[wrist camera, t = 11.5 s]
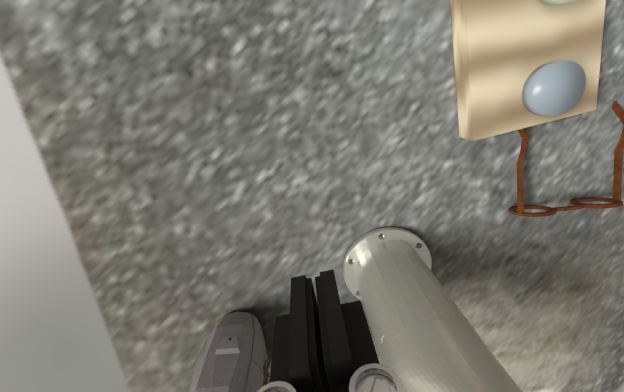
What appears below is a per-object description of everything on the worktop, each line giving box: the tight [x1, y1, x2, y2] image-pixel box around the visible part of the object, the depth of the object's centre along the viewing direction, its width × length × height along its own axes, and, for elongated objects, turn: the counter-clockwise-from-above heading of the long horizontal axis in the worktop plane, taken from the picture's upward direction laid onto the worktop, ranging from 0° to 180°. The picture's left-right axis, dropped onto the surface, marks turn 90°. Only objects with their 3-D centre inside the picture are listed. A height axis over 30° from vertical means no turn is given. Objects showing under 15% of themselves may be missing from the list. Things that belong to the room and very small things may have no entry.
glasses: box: [509, 101, 624, 217], centre depth 36 cm, size 13×13×5 cm
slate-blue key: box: [522, 60, 586, 116], centre depth 30 cm, size 5×5×2 cm
